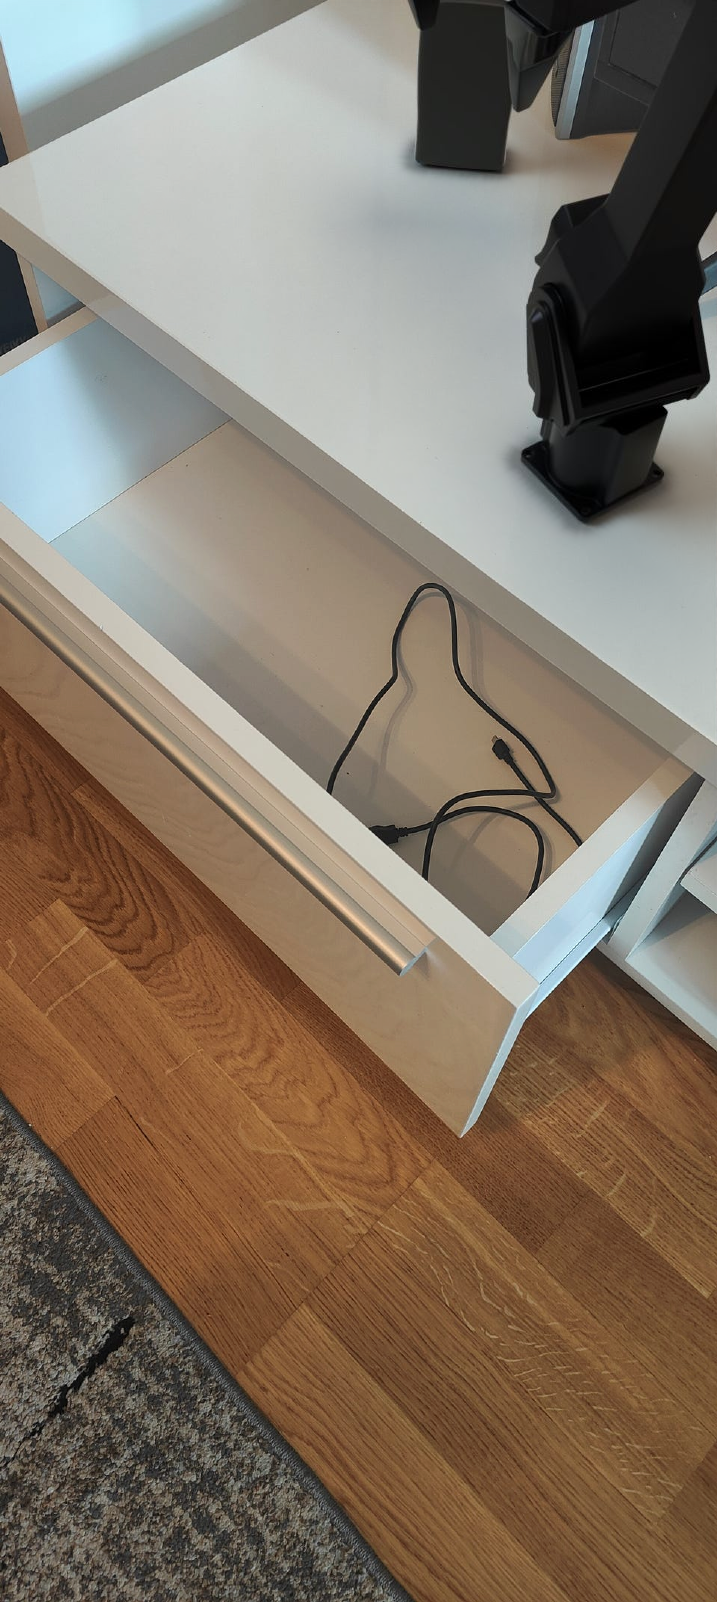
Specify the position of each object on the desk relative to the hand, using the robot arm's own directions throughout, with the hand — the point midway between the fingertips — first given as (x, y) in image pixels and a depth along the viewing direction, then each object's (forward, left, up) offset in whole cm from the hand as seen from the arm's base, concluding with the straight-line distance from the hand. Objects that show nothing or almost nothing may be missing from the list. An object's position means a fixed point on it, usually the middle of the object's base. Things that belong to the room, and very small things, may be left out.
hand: (472, 67), depth 67 cm
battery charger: (+10, -7, -13) cm, 18 cm away
